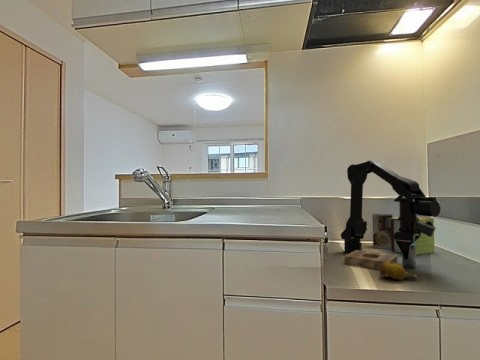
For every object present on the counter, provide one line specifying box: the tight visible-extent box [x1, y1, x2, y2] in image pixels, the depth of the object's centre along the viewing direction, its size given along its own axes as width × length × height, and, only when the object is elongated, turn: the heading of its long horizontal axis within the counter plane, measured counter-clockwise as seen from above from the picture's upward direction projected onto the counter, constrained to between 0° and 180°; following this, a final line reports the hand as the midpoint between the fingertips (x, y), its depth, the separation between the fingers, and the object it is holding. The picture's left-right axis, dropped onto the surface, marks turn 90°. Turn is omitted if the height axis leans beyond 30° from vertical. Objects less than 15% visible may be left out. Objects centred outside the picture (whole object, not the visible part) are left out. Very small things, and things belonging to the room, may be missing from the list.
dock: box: [343, 250, 398, 270], centre depth 121 cm, size 16×14×3 cm
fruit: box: [379, 262, 418, 281], centre depth 102 cm, size 11×11×5 cm
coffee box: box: [371, 213, 394, 250], centre depth 150 cm, size 9×6×16 cm
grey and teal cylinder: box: [401, 241, 417, 270], centre depth 115 cm, size 4×4×10 cm
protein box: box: [390, 215, 435, 256], centre depth 141 cm, size 10×15×16 cm
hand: (408, 256), depth 115 cm, fingers open, 9 cm apart
